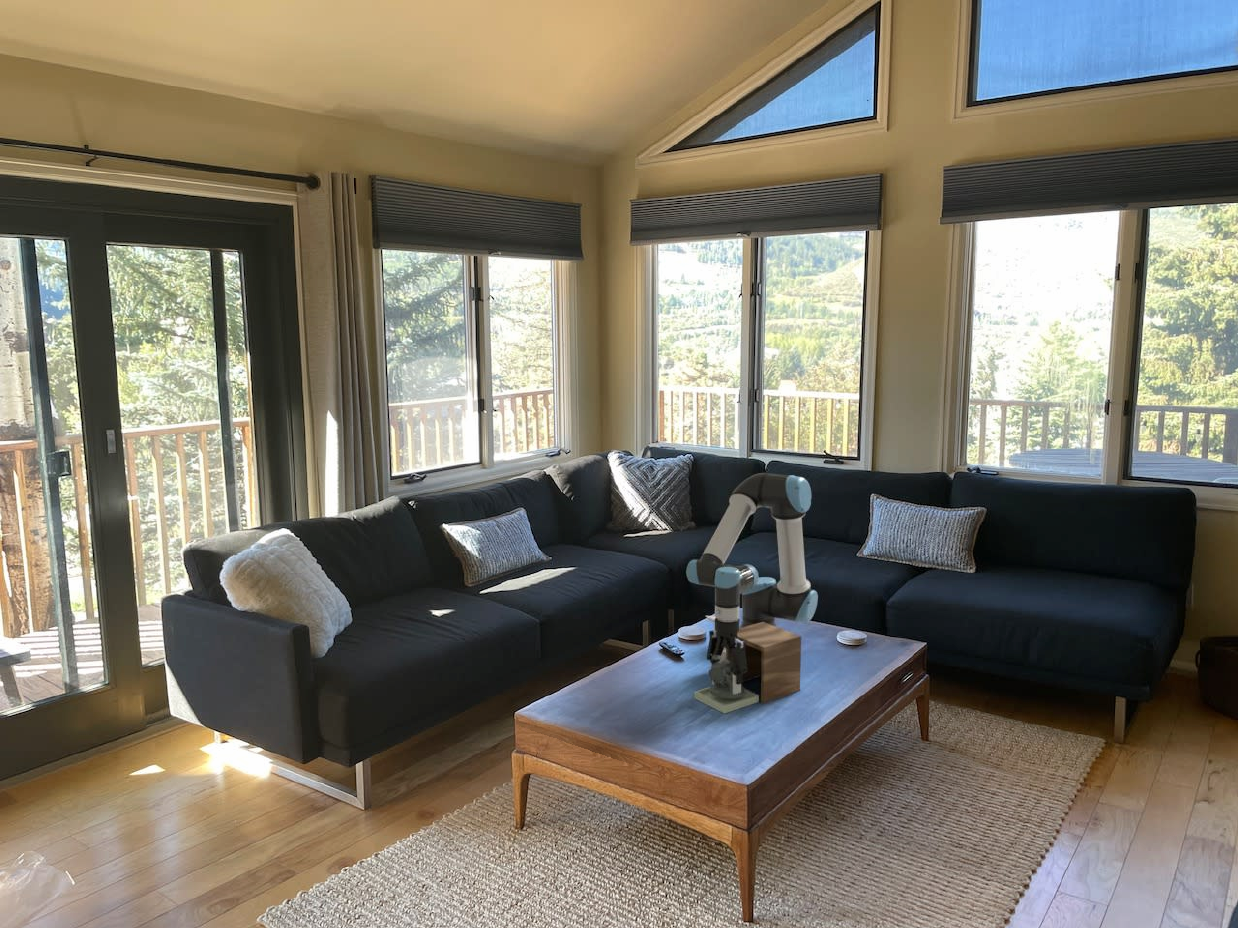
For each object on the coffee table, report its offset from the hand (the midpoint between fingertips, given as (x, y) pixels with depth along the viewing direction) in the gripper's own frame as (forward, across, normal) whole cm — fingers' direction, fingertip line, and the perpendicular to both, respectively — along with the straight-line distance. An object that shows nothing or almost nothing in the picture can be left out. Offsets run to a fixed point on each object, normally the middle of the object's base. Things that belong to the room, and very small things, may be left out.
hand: (726, 688), depth 295 cm
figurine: (+1, 0, 0) cm, 1 cm away
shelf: (+4, 0, +15) cm, 16 cm away
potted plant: (+4, -16, +13) cm, 21 cm away
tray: (+4, 0, 0) cm, 4 cm away
